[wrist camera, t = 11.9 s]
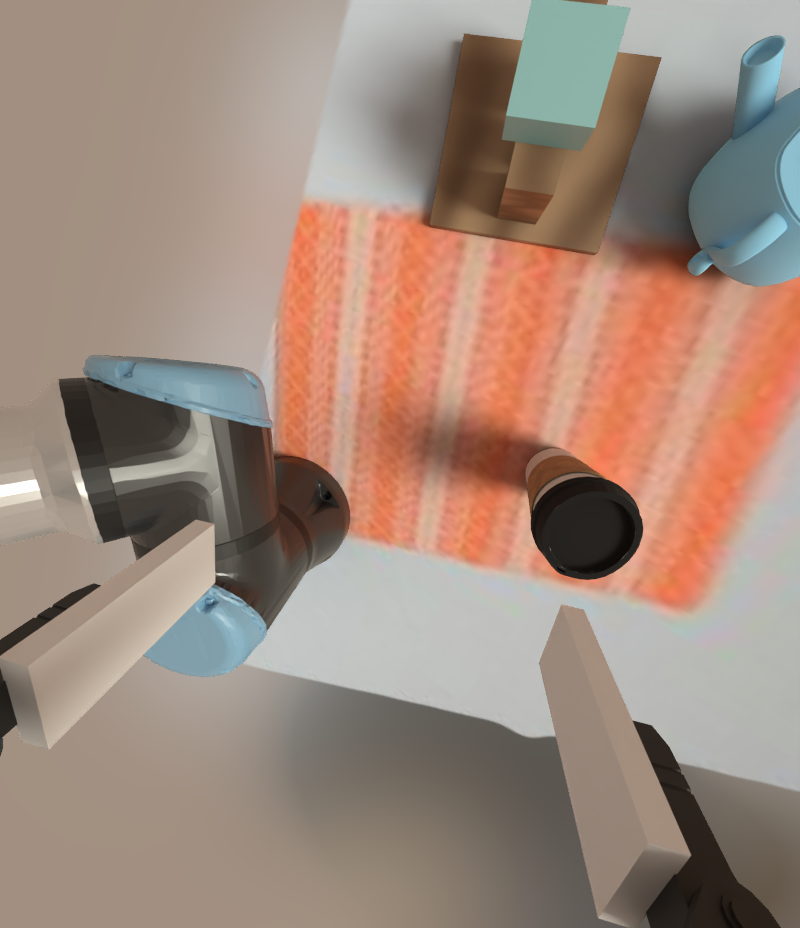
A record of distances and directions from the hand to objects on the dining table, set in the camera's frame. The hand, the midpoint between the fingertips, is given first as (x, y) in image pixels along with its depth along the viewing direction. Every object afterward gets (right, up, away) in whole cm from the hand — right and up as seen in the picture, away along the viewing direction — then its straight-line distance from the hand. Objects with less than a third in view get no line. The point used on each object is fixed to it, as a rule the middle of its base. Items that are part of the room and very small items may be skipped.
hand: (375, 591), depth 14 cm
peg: (+13, +32, +18) cm, 39 cm away
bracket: (+13, +33, +20) cm, 41 cm away
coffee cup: (+18, +4, +29) cm, 35 cm away
